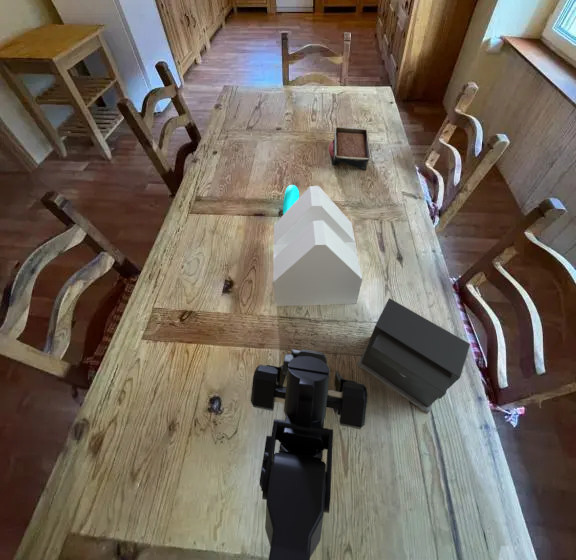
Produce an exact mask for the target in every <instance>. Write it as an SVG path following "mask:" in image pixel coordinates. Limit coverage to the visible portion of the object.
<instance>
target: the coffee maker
mask: <svg viewBox="0 0 576 560" xmlns="http://www.w3.org/2000/svg"><path fill="white" fill-rule="evenodd" d="M470 346H471V343H469V342H467V341H466V340H464V339H462V338H460V337H459V336H457V335H455V334H453V333H451V332H450V331H448V330H446V329H445V328H442V327H441V326H439V325H438V324H436V323H434V322H432V321H430V320H429V319H427V318H425V317H423V316H421V315H420V314H418V313H417V312H415V311H412V310H411V309H409V308H408V307H406V306H404V305H402V304H400V303H399V302H397V301H395V300H393V299H392V298H389V297H388V299H387V301H386V303H385V306H384V307H383V308H382V311H381V314H380V315H379V318H378V319H377V322H376V323H375V324H374V328H373V331H372V333H371V336H370V339H369V340H368V343H367V344H366V347H365V348H364V351H363V353H362V355H361V356H360V358H359V360H358V362H357V366H358V367H359V368H361V369H362V370H364V371H365V372H366V373H368V374H370V376H373V377H374V378H375V379H377V380H378V381H379V382H380V383H382V384H384V385H385V386H387V387H388V388H390V389H391V390H393V391H394V392H395V393H397V394H399V395H400V396H401V397H403V398H405V399H406V400H407V401H409V402H410V403H412V404H413V405H415V406H416V407H418V408H420V410H422V411H424V412H425V413H426V414H429V413H430V412H431V409H432V406H433V404H434V402H436V401H437V400H438V399H439V400H441V399H442V398H443V397H444V396H445V395H446V394H447V392H448V390H449V389H450V388H451V387H452V386H453V385H454V384H455V383H456V382H457V381H459V379H461V377H462V373H463V370H464V367H465V363H466V360H467V356H468V353H469V350H470Z"/></svg>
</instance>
